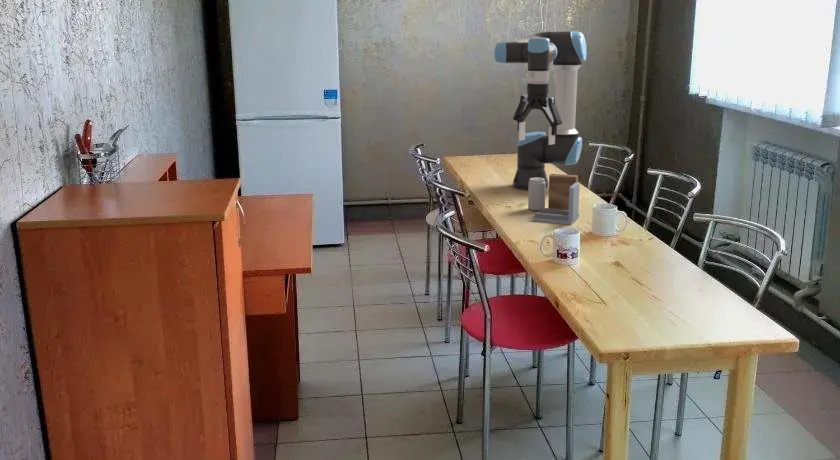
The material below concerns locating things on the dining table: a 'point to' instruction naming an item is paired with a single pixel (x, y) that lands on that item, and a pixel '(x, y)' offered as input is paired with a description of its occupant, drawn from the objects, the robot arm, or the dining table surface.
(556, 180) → the door panel
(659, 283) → the dining table surface
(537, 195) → the beverage can
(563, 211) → the door track
